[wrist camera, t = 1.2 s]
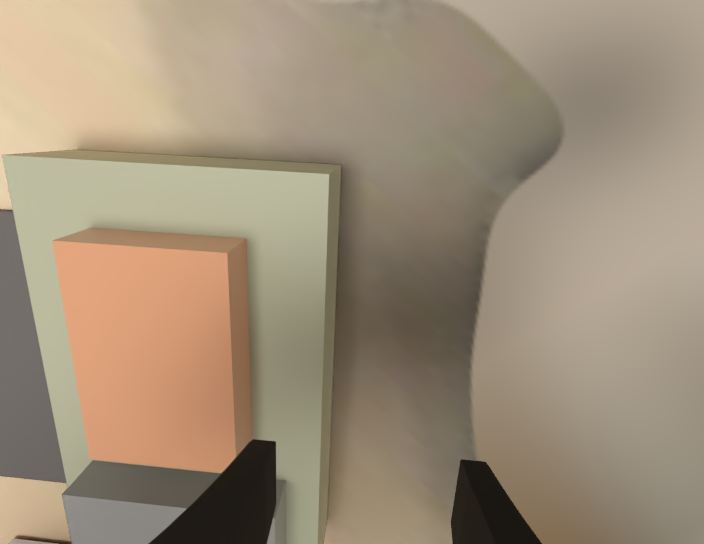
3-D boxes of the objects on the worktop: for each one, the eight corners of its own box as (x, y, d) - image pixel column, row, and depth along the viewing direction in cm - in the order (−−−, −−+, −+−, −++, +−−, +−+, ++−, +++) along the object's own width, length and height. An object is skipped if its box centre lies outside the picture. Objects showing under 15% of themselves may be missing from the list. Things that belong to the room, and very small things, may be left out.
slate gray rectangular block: (286, 480, 20) (275, 517, 18) (285, 578, 22) (275, 621, 20) (92, 460, 20) (61, 494, 18) (109, 557, 22) (82, 597, 20)
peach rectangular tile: (251, 439, 19) (236, 474, 17) (119, 426, 19) (89, 459, 18) (246, 238, 16) (227, 252, 14) (90, 227, 17) (51, 240, 15)
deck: (327, 520, 25) (316, 589, 22) (126, 498, 26) (82, 561, 22) (341, 164, 19) (328, 173, 15) (76, 149, 20) (1, 154, 16)
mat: (116, 483, 26) (113, 488, 26) (-44, 466, 26) (-49, 470, 26) (75, 214, 21) (71, 215, 20) (-121, 201, 21) (-128, 202, 21)
